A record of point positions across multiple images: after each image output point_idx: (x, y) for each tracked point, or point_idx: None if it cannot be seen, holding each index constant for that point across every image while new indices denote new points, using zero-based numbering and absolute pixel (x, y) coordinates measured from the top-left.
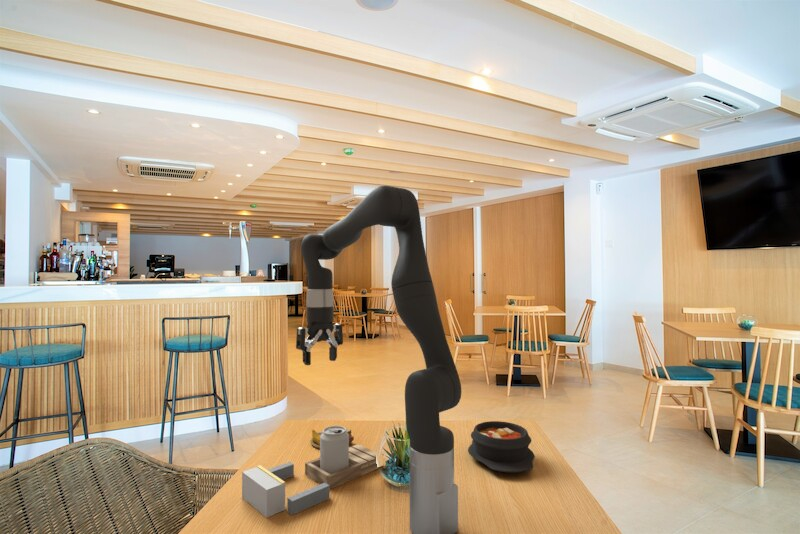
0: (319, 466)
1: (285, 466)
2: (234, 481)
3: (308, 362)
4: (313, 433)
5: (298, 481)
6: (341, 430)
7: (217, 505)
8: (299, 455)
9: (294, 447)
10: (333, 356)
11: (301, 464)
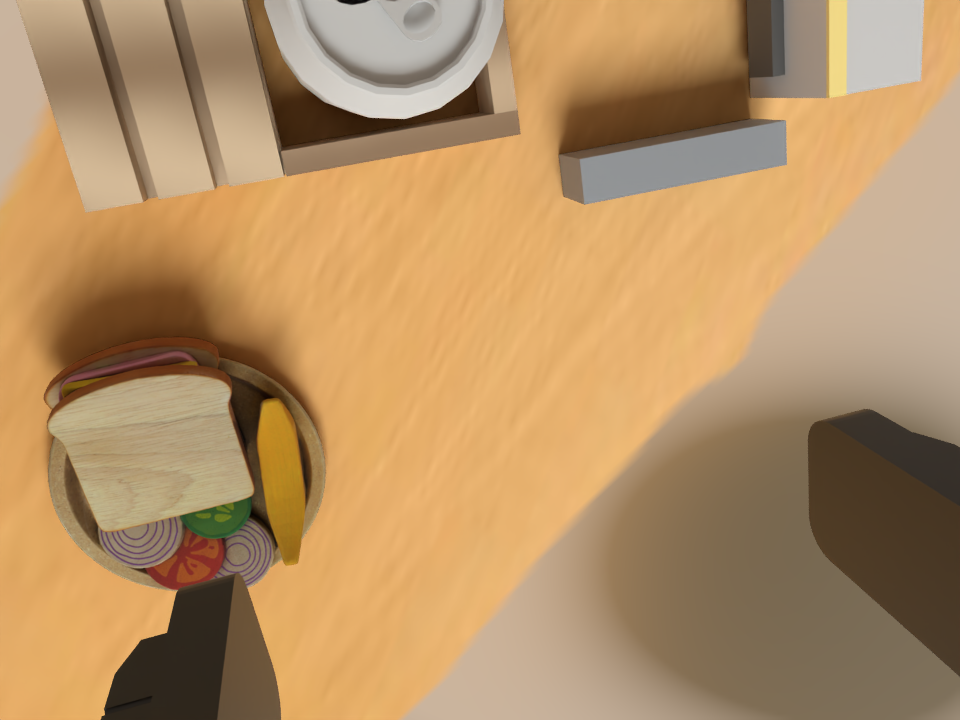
0: (422, 124)
1: (627, 158)
2: (796, 264)
3: (891, 427)
4: (299, 530)
5: (564, 72)
6: (290, 56)
7: (929, 76)
8: (433, 382)
9: (416, 497)
10: (232, 641)
11: (469, 265)
